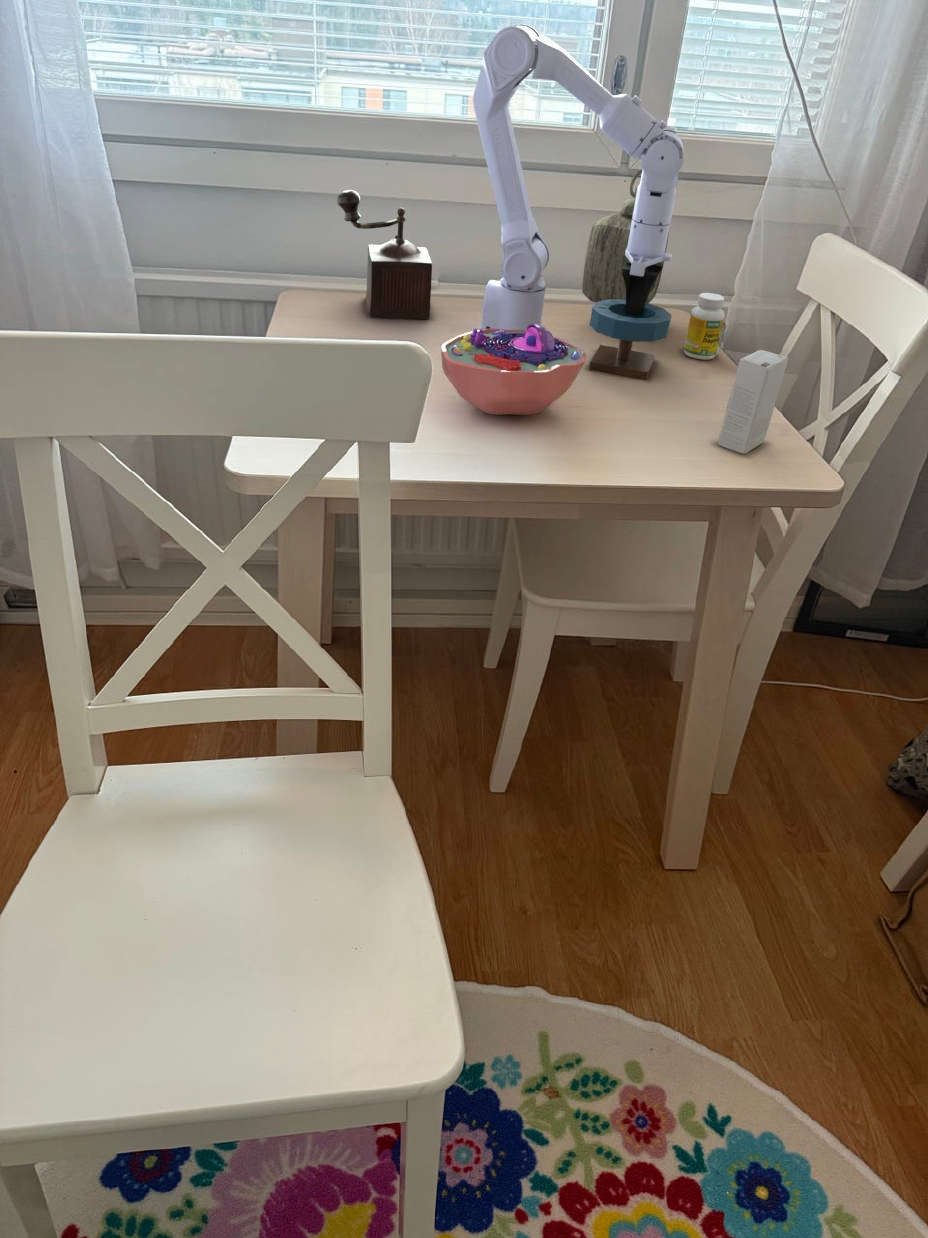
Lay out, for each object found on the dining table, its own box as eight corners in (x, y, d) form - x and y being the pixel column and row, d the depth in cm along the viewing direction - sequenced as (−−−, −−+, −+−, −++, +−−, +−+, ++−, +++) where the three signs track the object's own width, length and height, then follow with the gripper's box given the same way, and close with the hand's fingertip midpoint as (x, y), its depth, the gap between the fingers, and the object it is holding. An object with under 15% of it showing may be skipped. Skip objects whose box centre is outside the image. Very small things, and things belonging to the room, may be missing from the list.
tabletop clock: (620, 337, 164) (648, 178, 150) (573, 325, 168) (595, 168, 154) (653, 318, 175) (681, 168, 161) (607, 307, 179) (631, 159, 165)
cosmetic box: (736, 433, 134) (758, 347, 127) (766, 443, 131) (790, 356, 125) (715, 445, 130) (737, 356, 123) (745, 456, 127) (769, 367, 121)
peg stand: (588, 369, 150) (595, 329, 147) (599, 351, 157) (605, 313, 154) (646, 379, 148) (654, 339, 145) (654, 361, 156) (661, 323, 152)
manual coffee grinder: (423, 300, 173) (430, 192, 163) (430, 319, 164) (437, 206, 154) (336, 296, 170) (336, 186, 160) (338, 316, 161) (339, 201, 151)
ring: (584, 332, 146) (587, 314, 145) (598, 312, 156) (601, 294, 154) (661, 346, 144) (665, 327, 142) (671, 325, 153) (675, 307, 152)
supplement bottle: (699, 347, 163) (712, 289, 158) (722, 357, 160) (736, 299, 155) (676, 351, 161) (688, 292, 155) (699, 362, 157) (712, 302, 152)
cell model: (418, 389, 137) (422, 309, 131) (544, 381, 144) (554, 304, 138) (462, 438, 124) (470, 352, 118) (598, 426, 132) (613, 344, 125)
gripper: (672, 234, 138) (653, 329, 146) (683, 215, 150) (665, 304, 158) (623, 227, 140) (607, 321, 147) (638, 209, 151) (622, 297, 159)
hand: (634, 312), depth 153 cm, fingers closed on ring, 2 cm apart
